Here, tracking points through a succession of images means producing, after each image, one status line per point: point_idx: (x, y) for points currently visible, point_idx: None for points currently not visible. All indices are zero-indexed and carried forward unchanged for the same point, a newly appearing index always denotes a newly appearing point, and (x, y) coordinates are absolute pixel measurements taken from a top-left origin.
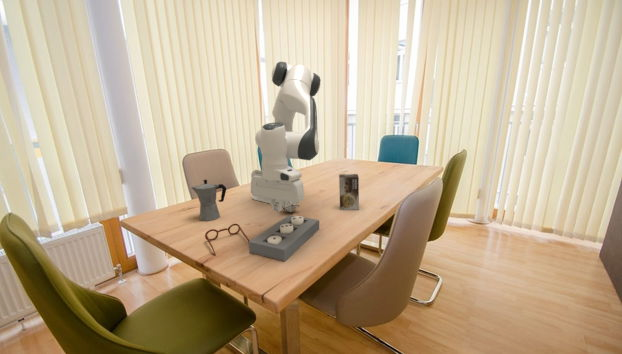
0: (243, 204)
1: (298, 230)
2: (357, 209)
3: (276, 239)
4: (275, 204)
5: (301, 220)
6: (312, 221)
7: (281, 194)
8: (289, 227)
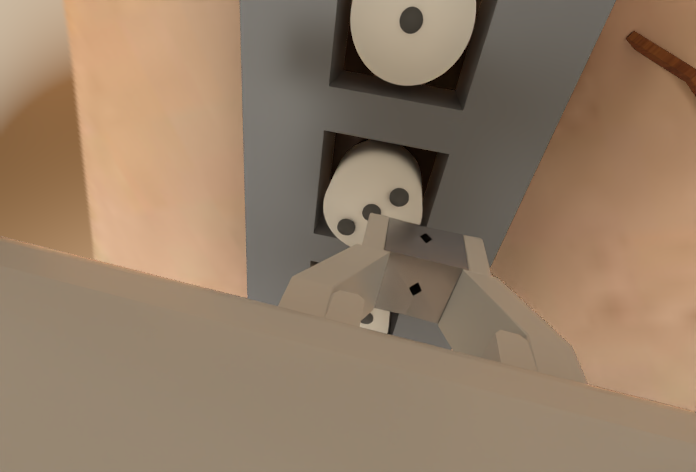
0: None
1: (294, 201)
2: None
3: (388, 10)
4: (447, 315)
5: None
6: None
7: (98, 422)
8: (340, 193)
